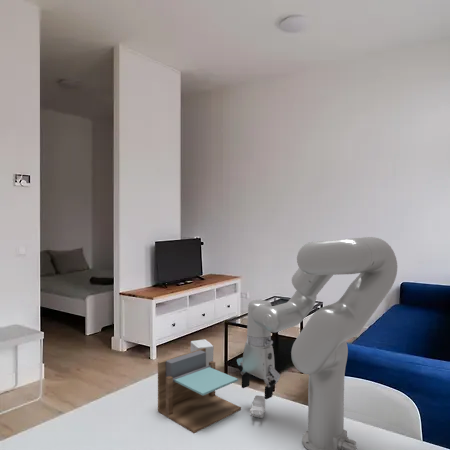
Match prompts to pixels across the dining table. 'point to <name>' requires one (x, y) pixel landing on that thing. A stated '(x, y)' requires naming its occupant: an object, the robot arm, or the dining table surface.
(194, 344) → the skincare box
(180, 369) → the flap
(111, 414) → the dining table surface
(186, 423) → the stand
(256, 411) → the power adapter
